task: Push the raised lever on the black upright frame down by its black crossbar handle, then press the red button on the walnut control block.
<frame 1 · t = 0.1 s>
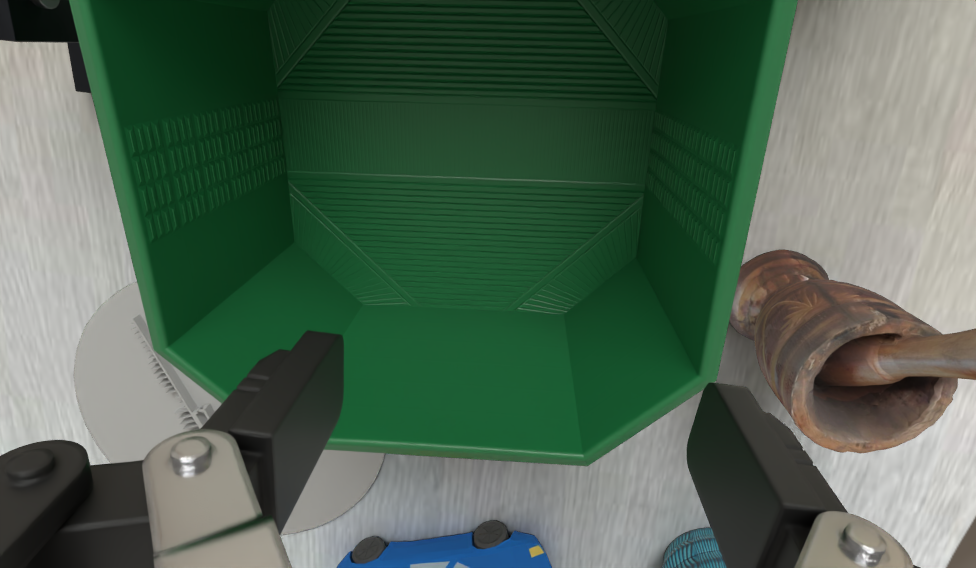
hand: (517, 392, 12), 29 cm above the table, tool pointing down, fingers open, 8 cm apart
lamp: (706, 557, 53), on the table
black upright frame: (147, 3, 37), on the table
planter: (467, 135, 39), on the table
plate: (233, 414, 50), on the table
toy car: (449, 559, 55), on the table
mortar and pestle: (780, 273, 42), on the table
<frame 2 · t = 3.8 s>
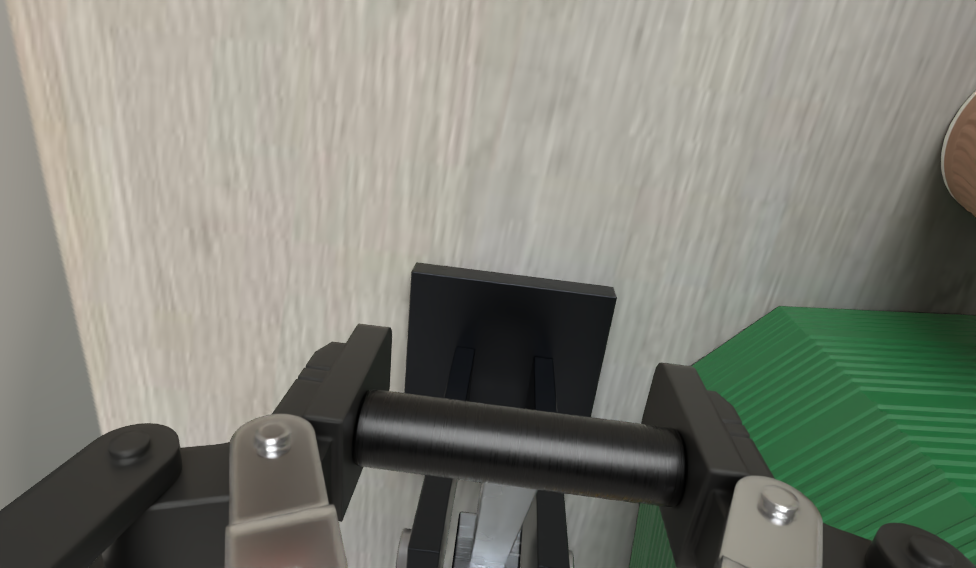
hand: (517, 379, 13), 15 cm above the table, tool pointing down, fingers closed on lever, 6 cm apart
black upright frame: (500, 375, 30), on the table
planter: (862, 508, 33), on the table
lever: (495, 523, 15), point 15 cm above the table, hinge at 30.0°, touching gripper
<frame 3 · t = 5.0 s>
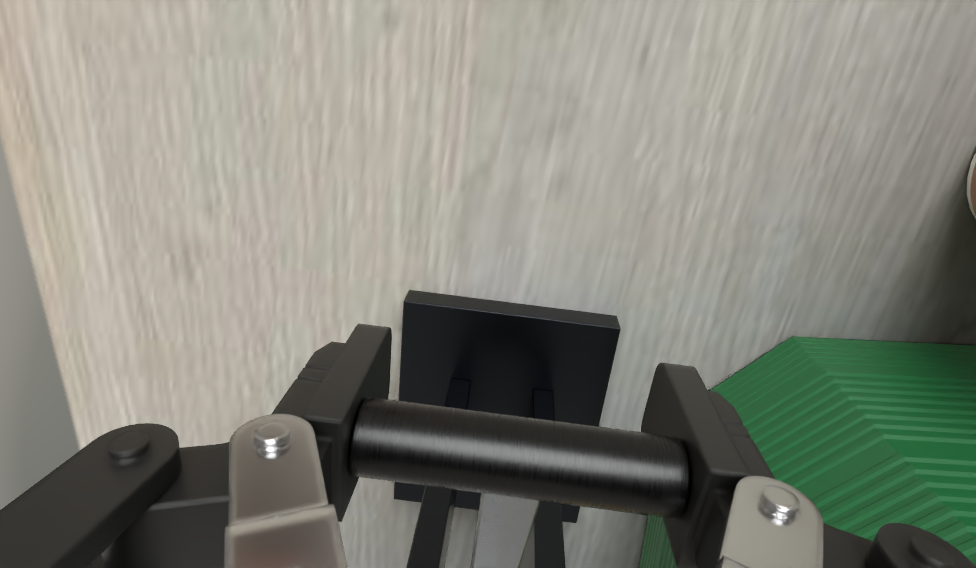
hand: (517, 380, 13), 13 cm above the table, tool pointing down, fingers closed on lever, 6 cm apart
black upright frame: (498, 405, 29), on the table
planter: (877, 543, 31), on the table
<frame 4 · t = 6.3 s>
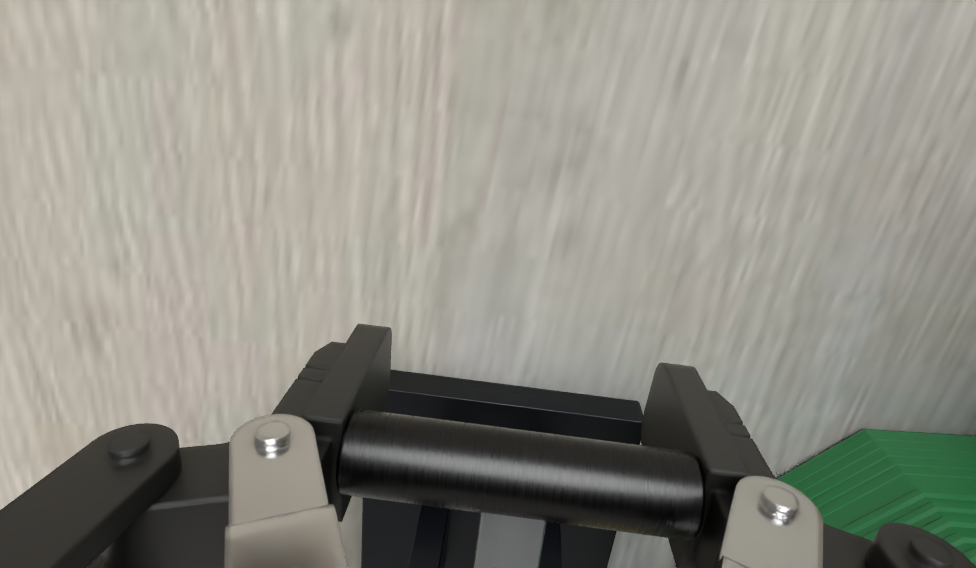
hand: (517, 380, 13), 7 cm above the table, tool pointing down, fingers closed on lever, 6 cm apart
black upright frame: (489, 505, 23), on the table
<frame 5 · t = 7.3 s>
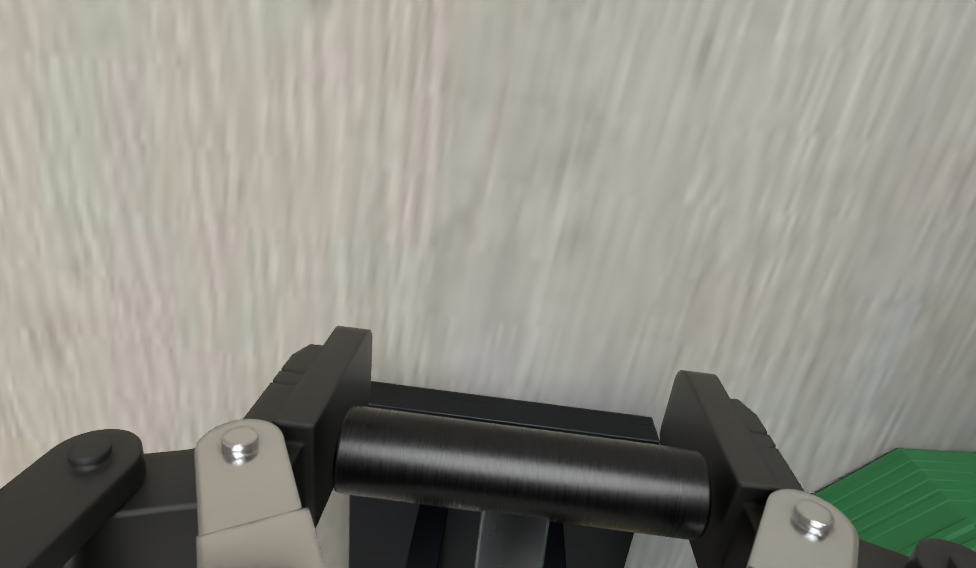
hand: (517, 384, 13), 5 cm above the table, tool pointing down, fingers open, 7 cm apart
black upright frame: (487, 528, 21), on the table
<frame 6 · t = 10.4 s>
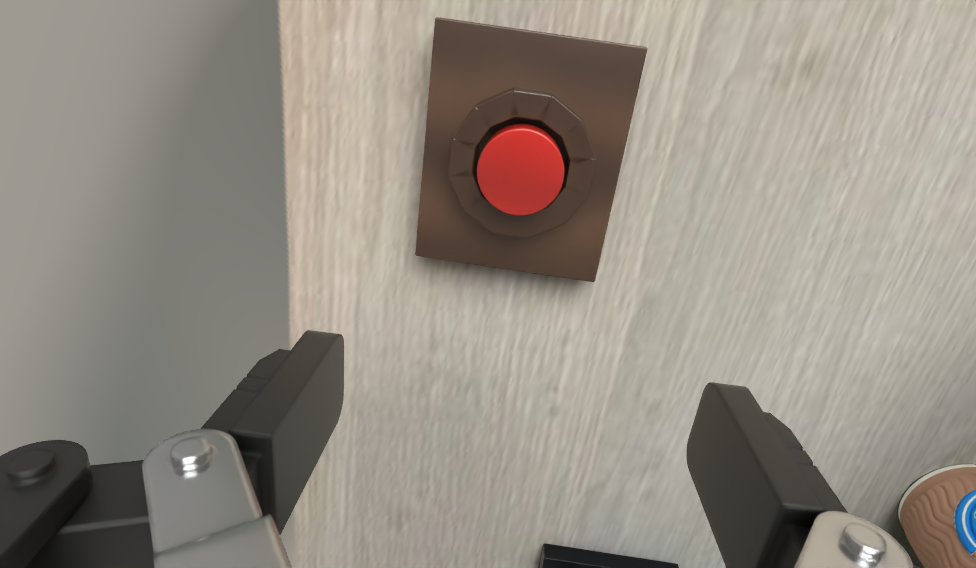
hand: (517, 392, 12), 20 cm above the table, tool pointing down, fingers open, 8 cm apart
control block: (522, 153, 30), on the table
coffee cup: (950, 501, 37), on the table
button: (520, 169, 26), point 4 cm above the table, slide at 0.1 cm
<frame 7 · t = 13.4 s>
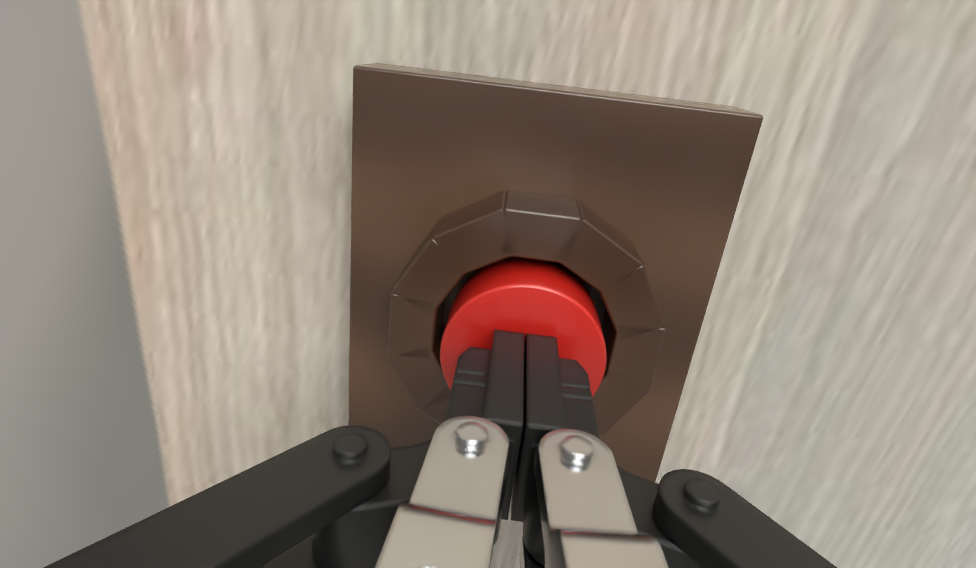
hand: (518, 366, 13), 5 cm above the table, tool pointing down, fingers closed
control block: (524, 282, 18), on the table
button: (522, 343, 14), point 4 cm above the table, slide at -0.4 cm, touching gripper
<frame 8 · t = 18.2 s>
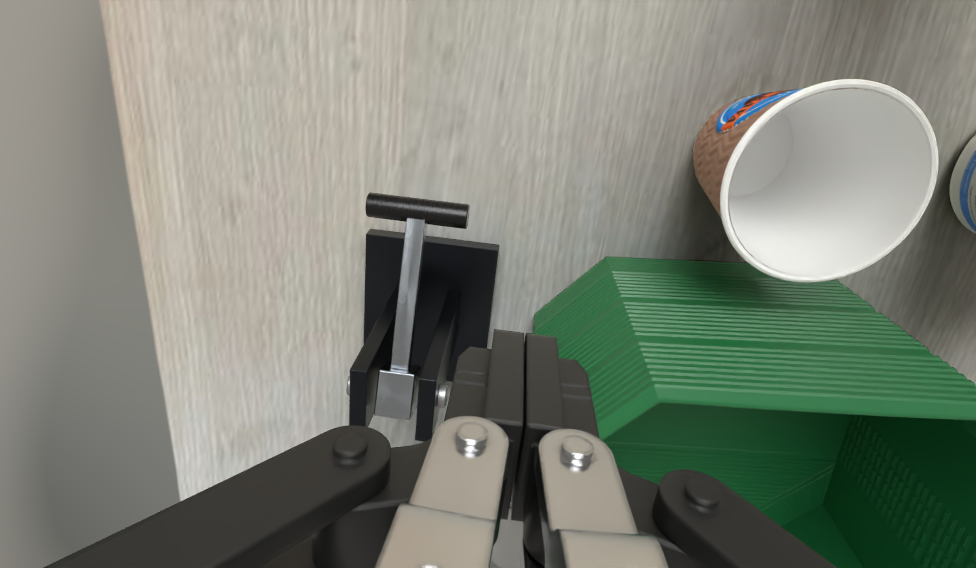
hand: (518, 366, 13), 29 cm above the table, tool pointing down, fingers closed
black upright frame: (429, 306, 45), on the table
coffee cup: (741, 148, 39), on the table
planter: (681, 401, 47), on the table
lever: (407, 307, 34), point 10 cm above the table, hinge at -18.4°
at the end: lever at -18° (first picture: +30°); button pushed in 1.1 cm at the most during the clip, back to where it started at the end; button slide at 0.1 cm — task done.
